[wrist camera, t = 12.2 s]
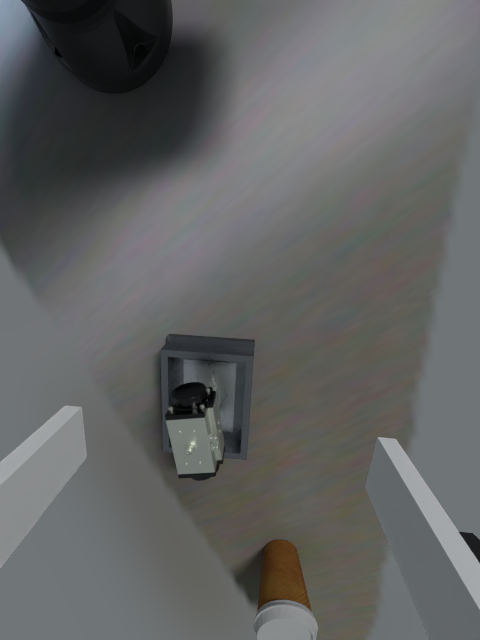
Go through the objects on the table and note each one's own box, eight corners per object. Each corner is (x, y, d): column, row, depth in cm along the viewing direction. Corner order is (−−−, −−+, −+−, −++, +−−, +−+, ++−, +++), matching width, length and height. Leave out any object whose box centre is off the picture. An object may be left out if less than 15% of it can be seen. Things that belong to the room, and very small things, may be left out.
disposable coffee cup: (257, 571, 54) (257, 659, 43) (252, 533, 52) (250, 616, 41) (307, 570, 54) (321, 660, 42) (304, 532, 51) (317, 616, 40)
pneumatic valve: (198, 432, 46) (178, 495, 34) (185, 365, 43) (158, 410, 31) (232, 429, 45) (223, 493, 34) (221, 362, 42) (207, 406, 31)
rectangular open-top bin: (169, 333, 43) (160, 342, 39) (254, 339, 42) (254, 349, 38) (170, 440, 48) (163, 457, 44) (247, 447, 47) (246, 465, 43)
